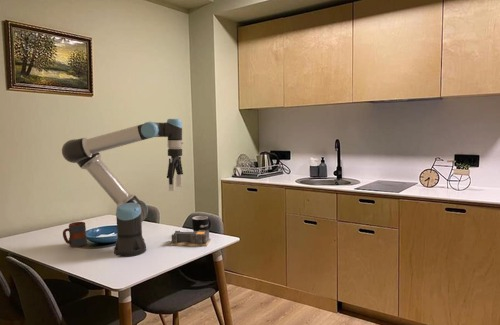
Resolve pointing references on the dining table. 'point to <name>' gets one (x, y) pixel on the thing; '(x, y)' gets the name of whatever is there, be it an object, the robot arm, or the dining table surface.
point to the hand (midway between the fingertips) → (175, 188)
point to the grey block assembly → (193, 239)
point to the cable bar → (186, 236)
